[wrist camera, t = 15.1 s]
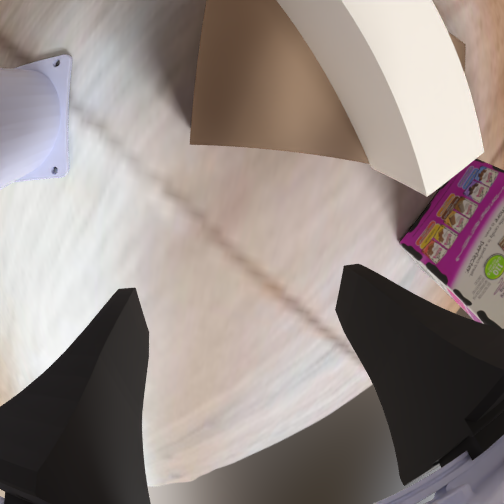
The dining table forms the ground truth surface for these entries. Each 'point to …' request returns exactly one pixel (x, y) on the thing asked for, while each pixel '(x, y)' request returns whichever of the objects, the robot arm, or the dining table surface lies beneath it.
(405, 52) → the block
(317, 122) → the cubby
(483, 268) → the candy bar box
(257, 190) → the dining table surface
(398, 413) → the robot arm
